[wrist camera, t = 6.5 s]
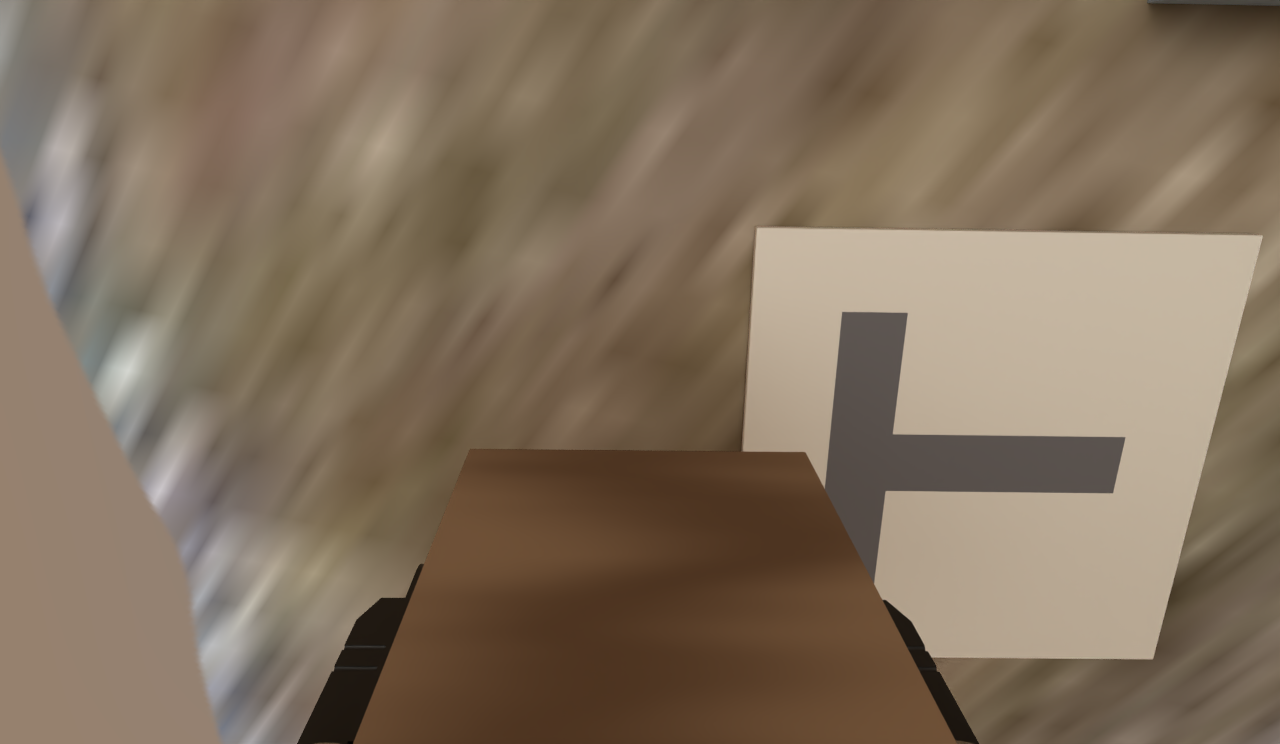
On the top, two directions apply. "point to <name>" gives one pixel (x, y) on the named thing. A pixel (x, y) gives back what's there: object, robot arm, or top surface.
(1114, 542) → the board
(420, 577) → the walnut block
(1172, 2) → the slate cube
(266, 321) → the top surface
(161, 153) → the top surface
